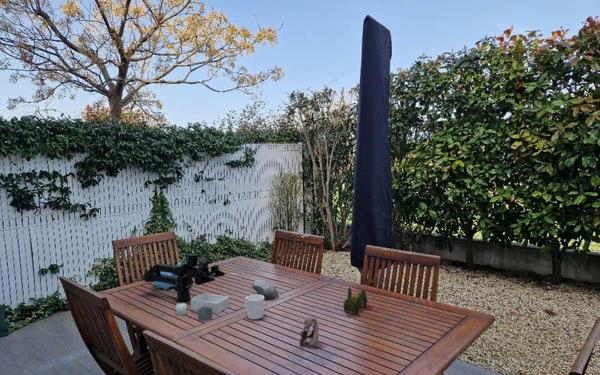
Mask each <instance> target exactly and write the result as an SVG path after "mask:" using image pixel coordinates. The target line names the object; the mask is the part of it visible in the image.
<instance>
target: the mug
mask: <svg viewBox="0 0 600 375" xmlns="http://www.w3.org/2000/svg"><path fill="white" fill-rule="evenodd" d="M243 301H244V302H243V303H244V305H245V308H246V310H247V319H248V320H251V321H259V320H262V319H264V312H265V310H264V308H265V306H264V305H265V304H264V303H265V298H264V296H263V295H258V293H257V294H250V295H247V296H245V297H244V299H243Z"/></svg>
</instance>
